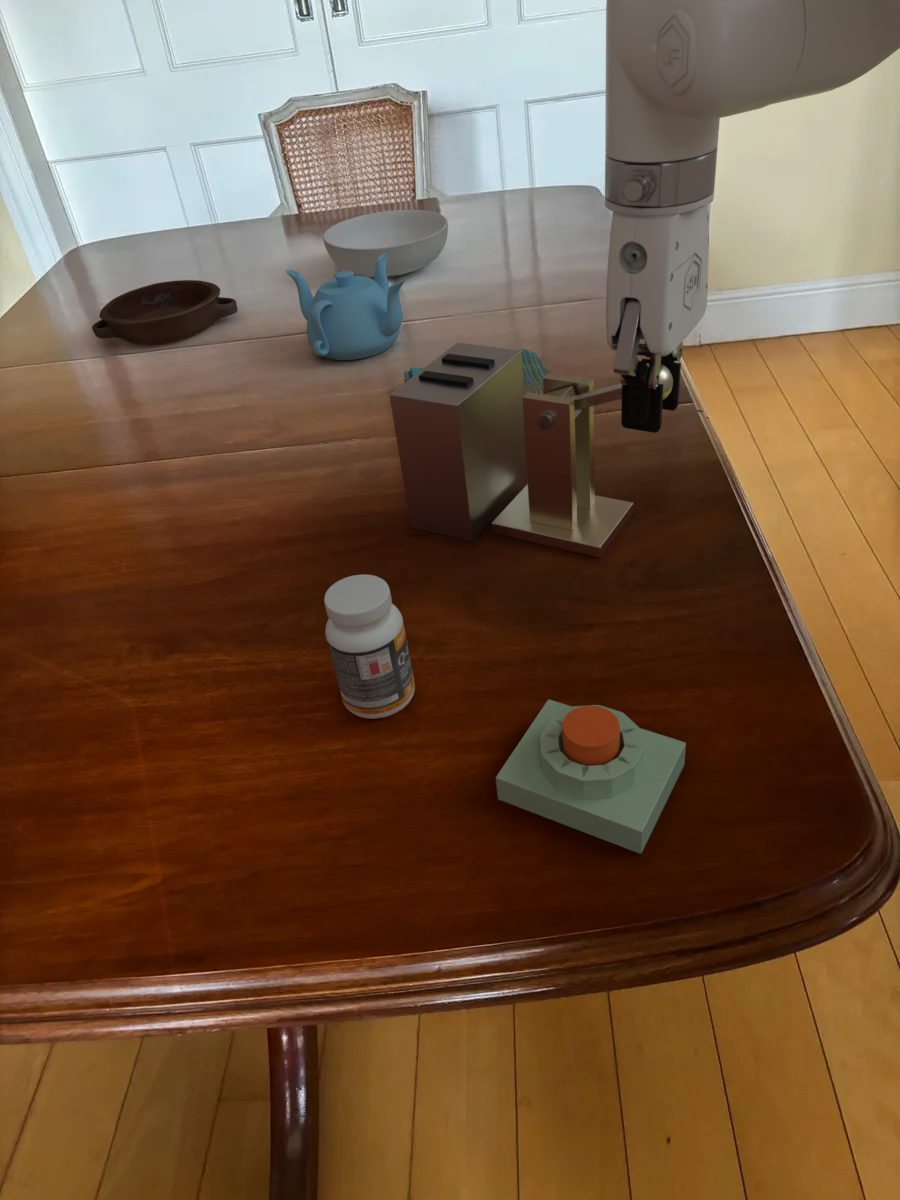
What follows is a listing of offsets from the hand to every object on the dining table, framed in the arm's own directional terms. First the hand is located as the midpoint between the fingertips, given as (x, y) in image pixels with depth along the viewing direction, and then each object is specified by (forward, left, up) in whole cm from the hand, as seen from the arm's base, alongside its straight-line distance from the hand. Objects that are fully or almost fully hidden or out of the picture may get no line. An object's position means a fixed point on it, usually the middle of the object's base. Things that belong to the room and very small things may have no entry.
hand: (650, 415), depth 74 cm
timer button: (-7, +28, -9) cm, 30 cm away
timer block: (-7, +28, -12) cm, 31 cm away
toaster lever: (+3, 0, 0) cm, 3 cm away
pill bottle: (+11, +27, -13) cm, 32 cm away
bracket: (+8, 0, -12) cm, 15 cm away
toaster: (+18, 0, -12) cm, 22 cm away
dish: (+88, -28, -13) cm, 93 cm away
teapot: (+54, -32, -13) cm, 64 cm away
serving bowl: (+68, -61, -13) cm, 92 cm away
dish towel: (+26, -18, -13) cm, 34 cm away
